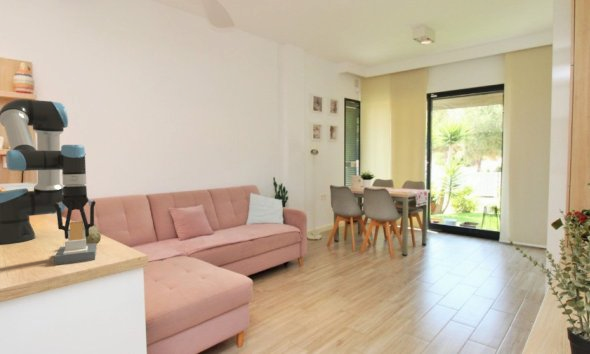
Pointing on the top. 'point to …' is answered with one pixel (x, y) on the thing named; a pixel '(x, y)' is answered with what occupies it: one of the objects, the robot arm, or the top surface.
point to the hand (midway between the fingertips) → (77, 245)
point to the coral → (93, 235)
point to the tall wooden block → (76, 230)
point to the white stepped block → (75, 247)
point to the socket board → (75, 255)
